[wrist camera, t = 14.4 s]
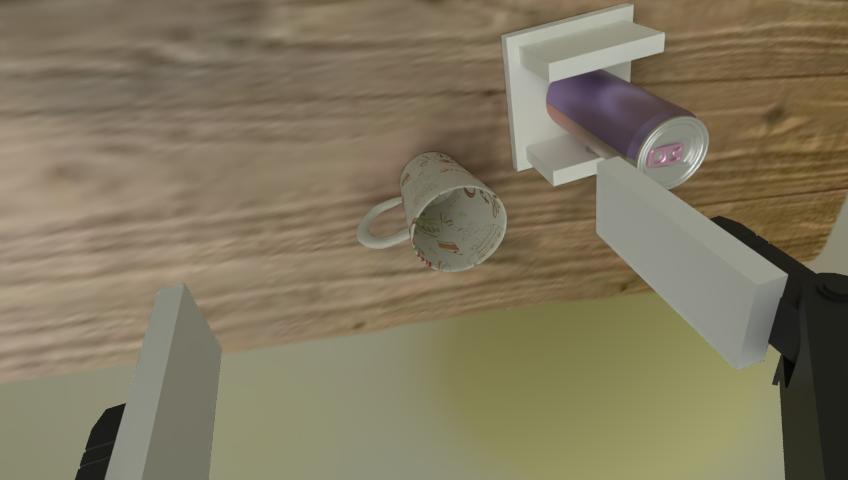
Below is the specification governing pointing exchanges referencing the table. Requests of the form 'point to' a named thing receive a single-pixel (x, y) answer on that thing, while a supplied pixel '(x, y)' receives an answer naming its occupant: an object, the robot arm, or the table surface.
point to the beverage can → (629, 125)
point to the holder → (558, 59)
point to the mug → (442, 215)
